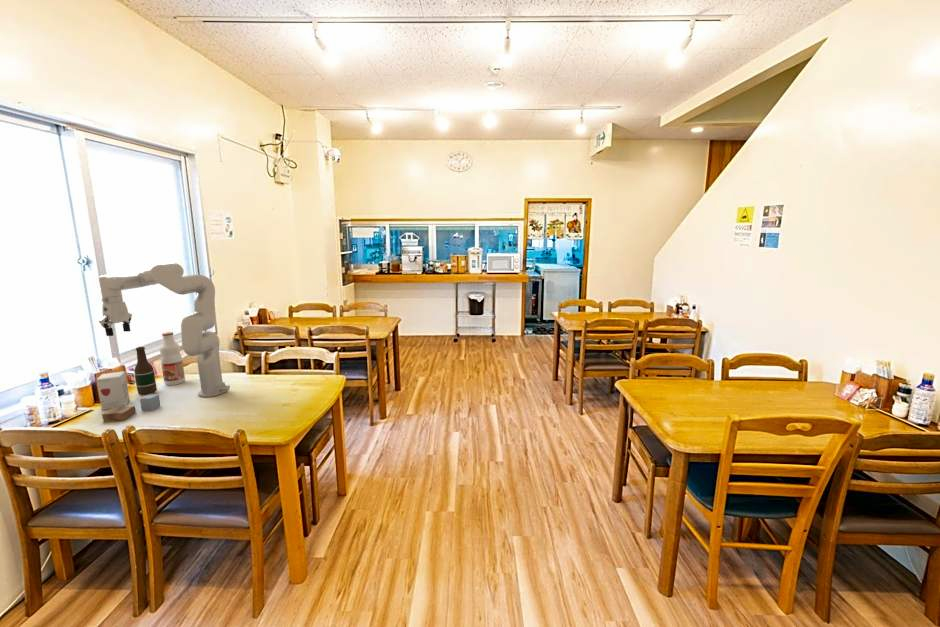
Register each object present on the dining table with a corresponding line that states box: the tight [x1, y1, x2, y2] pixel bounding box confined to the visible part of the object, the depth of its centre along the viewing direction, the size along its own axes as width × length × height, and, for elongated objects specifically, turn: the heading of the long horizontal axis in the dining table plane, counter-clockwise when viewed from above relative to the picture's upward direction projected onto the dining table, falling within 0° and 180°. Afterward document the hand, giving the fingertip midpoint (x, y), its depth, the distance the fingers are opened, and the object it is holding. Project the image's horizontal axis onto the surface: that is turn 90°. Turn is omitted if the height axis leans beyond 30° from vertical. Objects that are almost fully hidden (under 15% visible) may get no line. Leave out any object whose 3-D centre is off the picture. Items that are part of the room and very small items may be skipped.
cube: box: [139, 394, 162, 412], centre depth 193 cm, size 5×5×6 cm
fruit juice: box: [159, 331, 186, 386], centre depth 227 cm, size 9×9×28 cm
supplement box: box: [96, 371, 131, 410], centre depth 198 cm, size 9×9×15 cm
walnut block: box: [101, 405, 137, 423], centre depth 184 cm, size 8×8×4 cm
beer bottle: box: [133, 346, 158, 396], centre depth 212 cm, size 8×8×24 cm
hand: (118, 333), depth 210 cm, fingers open, 9 cm apart
